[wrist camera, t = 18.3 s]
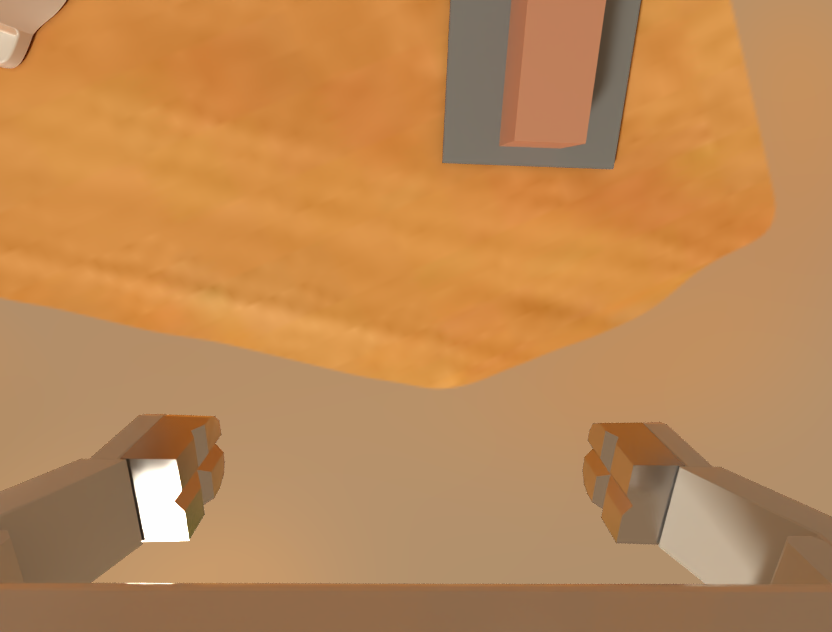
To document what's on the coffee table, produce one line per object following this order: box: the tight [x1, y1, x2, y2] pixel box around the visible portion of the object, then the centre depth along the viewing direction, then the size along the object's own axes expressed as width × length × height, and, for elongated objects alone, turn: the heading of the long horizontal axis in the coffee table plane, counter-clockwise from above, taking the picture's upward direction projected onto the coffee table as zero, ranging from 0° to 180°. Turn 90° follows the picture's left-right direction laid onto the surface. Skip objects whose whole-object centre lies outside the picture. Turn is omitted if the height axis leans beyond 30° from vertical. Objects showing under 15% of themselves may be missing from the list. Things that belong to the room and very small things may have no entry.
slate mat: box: [442, 0, 641, 169], centre depth 33 cm, size 14×16×1 cm
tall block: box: [499, 0, 606, 149], centre depth 30 cm, size 5×5×12 cm
